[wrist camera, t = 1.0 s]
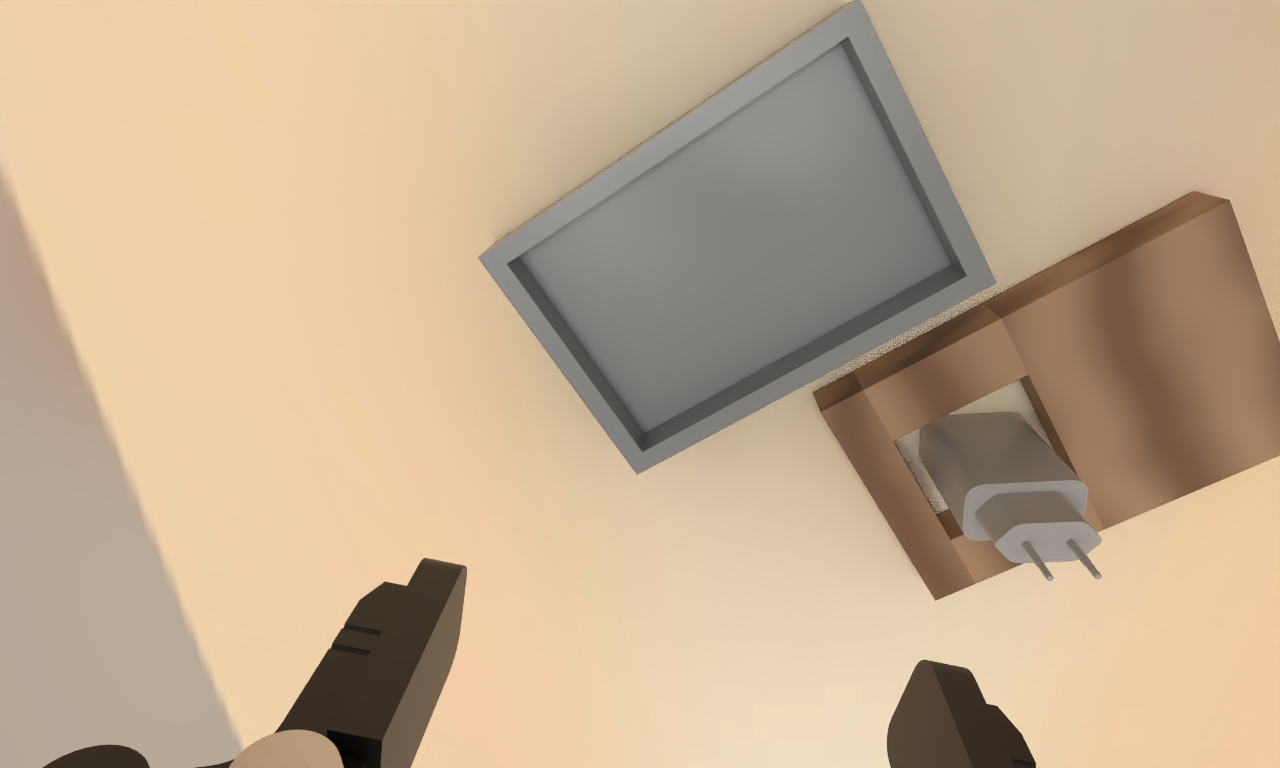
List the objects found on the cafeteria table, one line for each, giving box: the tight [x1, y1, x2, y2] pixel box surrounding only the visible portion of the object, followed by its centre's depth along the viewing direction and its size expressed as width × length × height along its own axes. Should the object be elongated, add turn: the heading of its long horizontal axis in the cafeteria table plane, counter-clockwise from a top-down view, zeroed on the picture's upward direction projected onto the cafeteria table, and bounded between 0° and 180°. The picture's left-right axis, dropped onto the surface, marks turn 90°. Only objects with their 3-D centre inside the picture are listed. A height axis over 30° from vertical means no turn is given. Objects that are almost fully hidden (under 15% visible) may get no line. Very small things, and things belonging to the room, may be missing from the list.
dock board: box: [813, 192, 1280, 601], centre depth 38 cm, size 20×14×2 cm
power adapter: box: [919, 412, 1102, 581], centre depth 35 cm, size 3×5×12 cm, turn 96°
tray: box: [478, 0, 996, 474], centre depth 36 cm, size 20×14×3 cm
